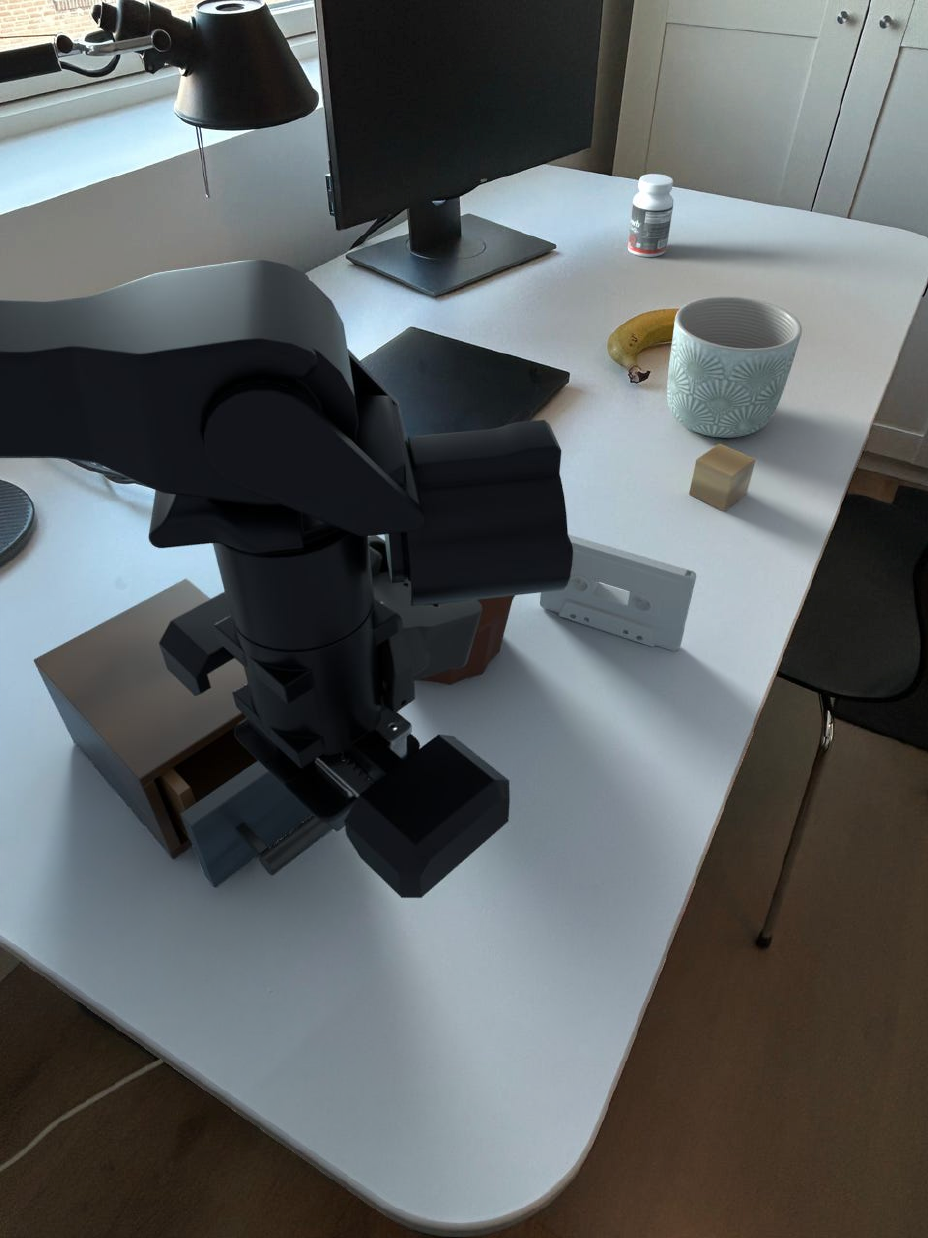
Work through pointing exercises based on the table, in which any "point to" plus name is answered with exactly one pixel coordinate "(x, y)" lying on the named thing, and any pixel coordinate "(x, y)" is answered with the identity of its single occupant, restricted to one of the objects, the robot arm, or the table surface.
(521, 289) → the table surface
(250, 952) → the table surface
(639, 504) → the table surface
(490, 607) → the muffin
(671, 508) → the table surface
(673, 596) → the cassette
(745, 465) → the oak block
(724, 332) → the planter
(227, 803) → the drawer
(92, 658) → the cabinet
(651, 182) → the pill bottle
